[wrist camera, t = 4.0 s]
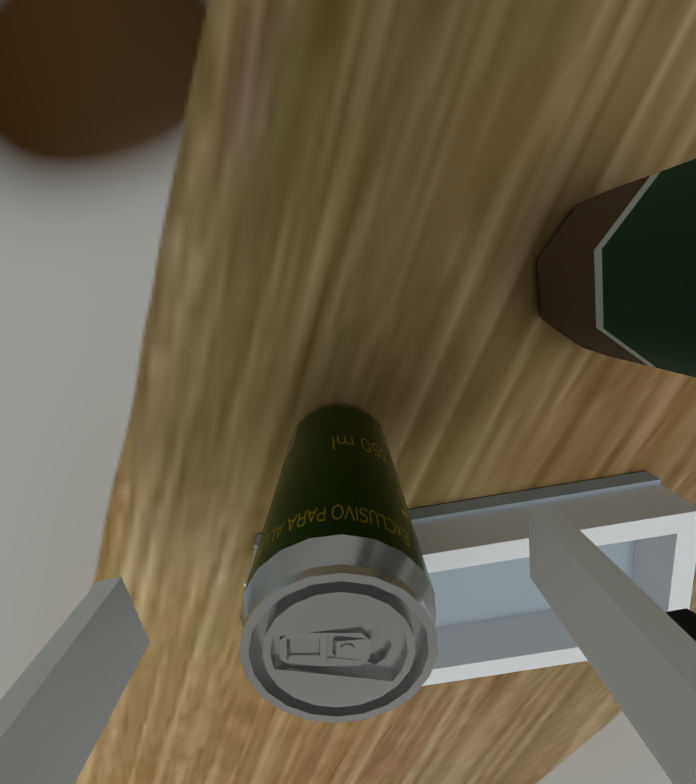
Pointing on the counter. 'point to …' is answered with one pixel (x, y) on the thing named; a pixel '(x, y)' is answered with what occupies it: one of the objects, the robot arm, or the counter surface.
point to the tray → (512, 567)
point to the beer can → (338, 580)
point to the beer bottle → (628, 272)
